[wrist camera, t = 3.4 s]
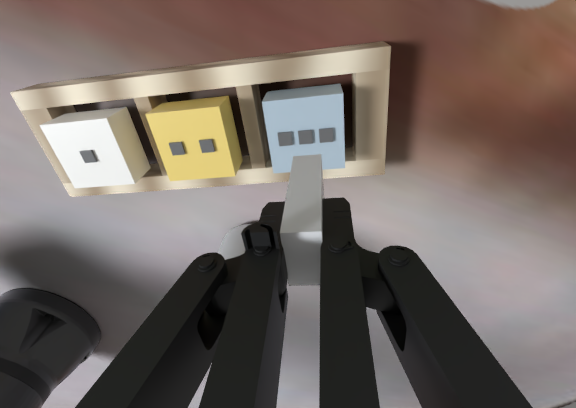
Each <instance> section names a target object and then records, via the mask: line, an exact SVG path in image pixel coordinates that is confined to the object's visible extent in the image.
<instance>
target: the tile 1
mask: <svg viewBox="0 0 576 408" xmlns="http://www.w3.org/2000/svg"><path fill="white" fill-rule="evenodd" d="M39 126H40V127H41V129H42V131H43V133H44V134H45V136H46V138H47V140H48V142H49V143H50V145H51V147H52V149H53V151H54V152H55V154H56V156H57V158H58V159H59V161H60V163H61V165H62V167H63V168H64V170H65V172H66V174H67V175H68V177H69V179H70V181H71V183H72V184H73V186H74V188H87V187H101V186H114V185H127V184H136V182H137V181H138V180H139V179H140V178H141V177H142V176H143V175H144V174H145V173H146V172H147V171H148V170H149V169H150V168H151V167H150V165H149V162H148V159H147V157H146V154H145V152H144V149H143V147H142V144H141V142H140V139H139V137H138V134H137V132H136V129H135V127H134V124H133V121H132V119H131V116H130V114H129V111H128V109H127V107H121V108H112V109H102V110H93V111H84V112H75V113H66V114H63V115H61V116H59V117H57V118H55V119H52V120H50V121H48V122H46V123H43V124H41V125H39Z"/></svg>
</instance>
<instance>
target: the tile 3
mask: <svg viewBox="0 0 576 408" xmlns="http://www.w3.org/2000/svg"><path fill="white" fill-rule="evenodd" d="M262 106H263V112H264V118H265V125H266V131H267V137H268V143H269V149H270V155H271V161H272V167H273V173H286V172H291V166H292V160H293V156H303V155H317V154H321V157H322V170H326V169H339V168H345V141H344V102H343V91H342V87H341V84H331V85H322V86H313V87H303V88H294V89H285V90H276V91H267V93H266V95H265V97H264V99H263V101H262Z"/></svg>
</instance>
